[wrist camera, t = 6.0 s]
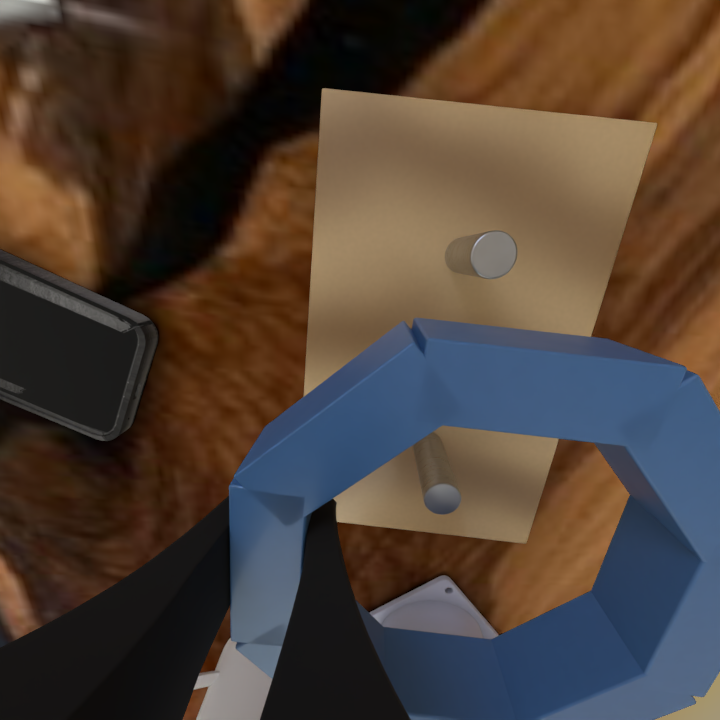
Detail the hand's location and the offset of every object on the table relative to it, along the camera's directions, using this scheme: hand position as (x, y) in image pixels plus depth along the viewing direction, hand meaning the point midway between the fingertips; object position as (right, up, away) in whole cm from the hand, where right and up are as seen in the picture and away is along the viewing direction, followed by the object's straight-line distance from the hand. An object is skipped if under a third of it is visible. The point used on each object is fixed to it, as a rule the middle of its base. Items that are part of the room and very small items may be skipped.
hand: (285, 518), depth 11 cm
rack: (+7, +6, +7) cm, 11 cm away
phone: (-17, +7, +8) cm, 20 cm away
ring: (+6, 0, 0) cm, 6 cm away
